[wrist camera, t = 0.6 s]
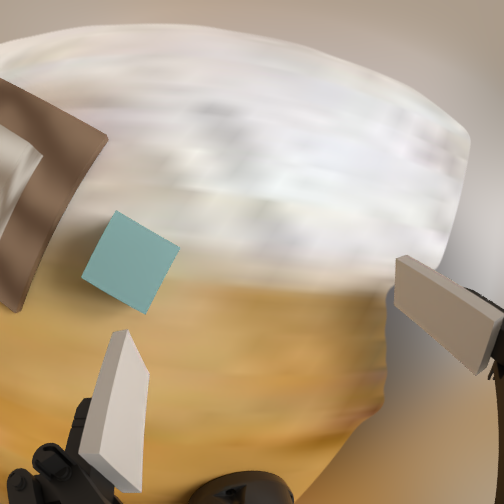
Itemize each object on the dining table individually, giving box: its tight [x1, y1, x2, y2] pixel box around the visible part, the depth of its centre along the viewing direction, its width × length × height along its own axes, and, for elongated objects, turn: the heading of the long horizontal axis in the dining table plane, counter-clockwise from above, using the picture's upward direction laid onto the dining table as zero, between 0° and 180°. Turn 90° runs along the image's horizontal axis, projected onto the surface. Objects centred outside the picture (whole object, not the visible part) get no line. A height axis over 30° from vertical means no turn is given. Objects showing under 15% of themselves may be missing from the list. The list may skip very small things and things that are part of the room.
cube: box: [81, 210, 180, 315], centre depth 24 cm, size 6×6×6 cm
